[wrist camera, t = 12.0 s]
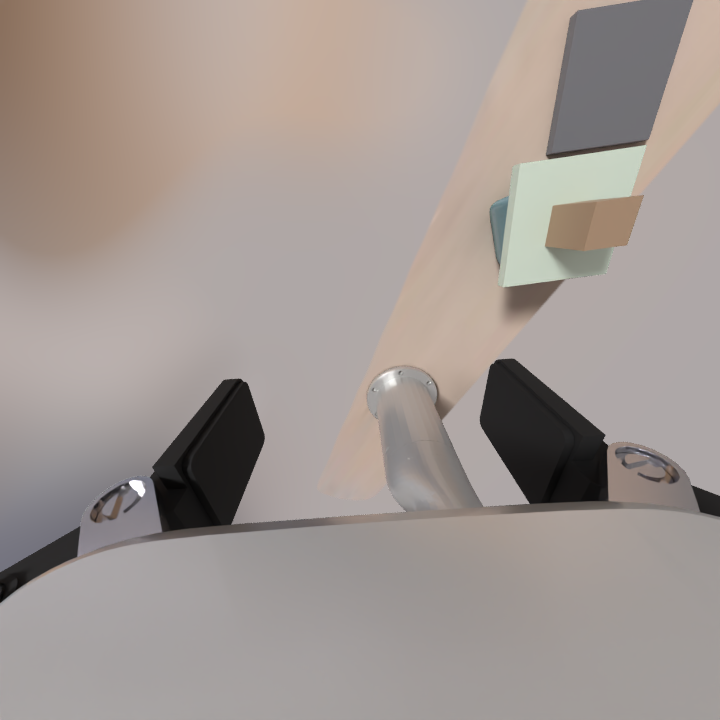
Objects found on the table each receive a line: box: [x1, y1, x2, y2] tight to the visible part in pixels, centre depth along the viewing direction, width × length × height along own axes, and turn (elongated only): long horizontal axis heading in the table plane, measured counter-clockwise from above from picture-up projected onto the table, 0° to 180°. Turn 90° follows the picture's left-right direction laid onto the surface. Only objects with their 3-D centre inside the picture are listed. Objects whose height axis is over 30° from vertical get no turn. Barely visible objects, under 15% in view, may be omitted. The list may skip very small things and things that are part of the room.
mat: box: [546, 0, 693, 155], centre depth 28 cm, size 11×11×1 cm
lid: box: [498, 145, 647, 287], centre depth 24 cm, size 11×11×6 cm
